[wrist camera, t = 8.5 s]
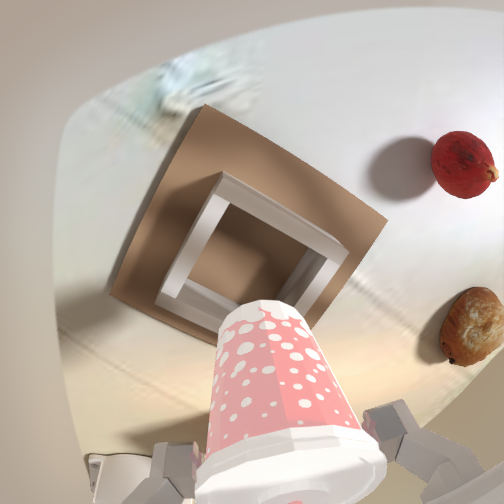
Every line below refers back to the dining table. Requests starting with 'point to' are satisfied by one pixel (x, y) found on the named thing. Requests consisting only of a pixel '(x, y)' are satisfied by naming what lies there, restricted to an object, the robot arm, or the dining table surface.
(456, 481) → the robot arm
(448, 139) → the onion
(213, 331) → the walnut board
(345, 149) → the dining table surface
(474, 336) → the bread roll
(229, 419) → the beverage cup
